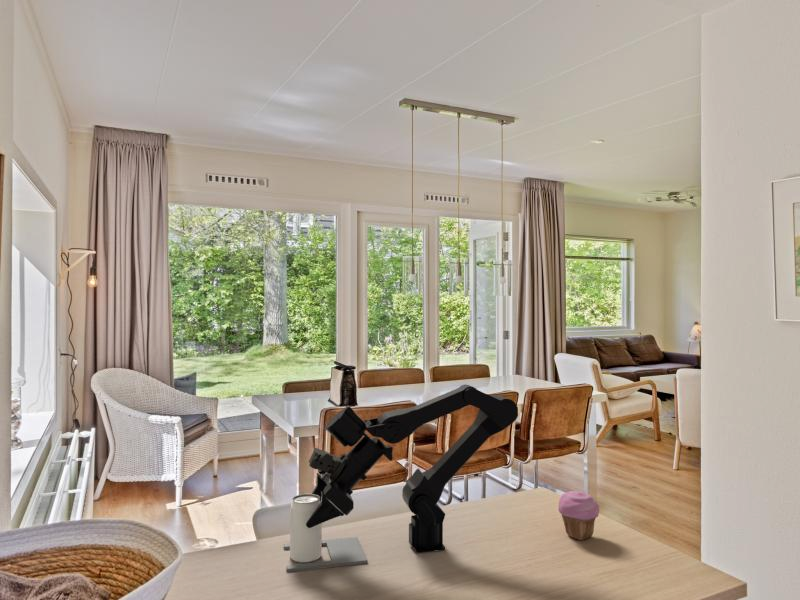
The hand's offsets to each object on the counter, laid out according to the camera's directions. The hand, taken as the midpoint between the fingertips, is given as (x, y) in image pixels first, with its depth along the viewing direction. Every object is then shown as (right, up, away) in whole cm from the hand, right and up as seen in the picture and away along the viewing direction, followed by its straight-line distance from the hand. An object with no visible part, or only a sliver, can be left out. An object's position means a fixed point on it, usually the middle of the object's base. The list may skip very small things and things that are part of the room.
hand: (306, 518), depth 116 cm
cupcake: (+60, -9, +11) cm, 62 cm away
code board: (+4, -8, +1) cm, 9 cm away
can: (0, -8, 0) cm, 8 cm away
